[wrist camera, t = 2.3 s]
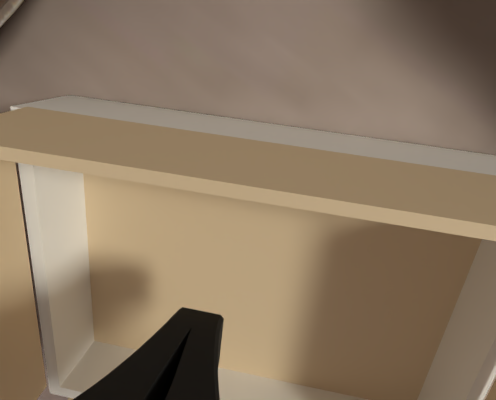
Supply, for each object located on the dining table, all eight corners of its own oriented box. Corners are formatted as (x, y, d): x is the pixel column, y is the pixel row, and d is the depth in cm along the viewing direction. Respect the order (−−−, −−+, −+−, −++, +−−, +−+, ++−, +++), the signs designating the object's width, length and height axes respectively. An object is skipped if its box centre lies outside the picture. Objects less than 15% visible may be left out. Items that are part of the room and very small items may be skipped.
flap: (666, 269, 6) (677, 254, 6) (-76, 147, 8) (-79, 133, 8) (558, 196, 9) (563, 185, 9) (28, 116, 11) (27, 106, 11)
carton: (402, 454, 18) (419, 531, 15) (91, 383, 20) (54, 440, 17) (525, 159, 12) (590, 193, 9) (70, 95, 14) (7, 107, 11)
